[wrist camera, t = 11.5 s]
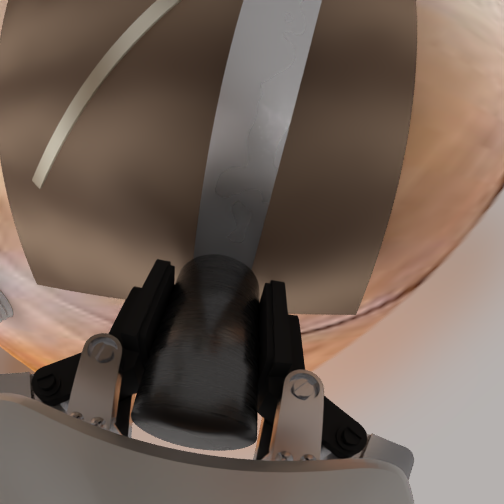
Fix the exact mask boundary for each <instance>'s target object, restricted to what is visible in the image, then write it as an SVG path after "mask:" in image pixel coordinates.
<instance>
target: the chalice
mask: <svg viewBox="0 0 504 504" xmlns="http://www.w3.org/2000/svg"><path fill="white" fill-rule="evenodd" d="M12 316H13V310H12V308H11V305H10V304H9V302H8V300H7V299H6V297H5V296H4V295H3V294H2V292H1V291H0V322H2V320H6V319H7V318H8V317H12Z"/></svg>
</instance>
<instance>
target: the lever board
mask: <svg viewBox="0 0 504 504" xmlns="http://www.w3.org/2000/svg"><path fill="white" fill-rule="evenodd" d="M242 4H243V0H8V4H7V7H6V12H5V16H4V21H3V26H2V31H1V37H0V159H1V165H2V171H3V177H4V182H5V187H6V191H7V196H8V200H9V204H10V208H11V212H12V216H13V219H14V223H15V226H16V229H17V232H18V236H19V239H20V242H21V244H22V247H23V250H24V253H25V256H26V258H27V261H28V264H29V266H30V269H31V271H32V274H33V276H34V278H35V281H36V283H37V284H38V285H43V286H48V287H53V288H58V289H64V290H69V291H75V292H81V293H87V294H93V295H99V296H105V297H112V298H119V299H127V297H128V295H129V293H130V291H131V289H132V288H133V287H134V286H136V287H140V288H142V286H143V284H144V282H145V281H146V279H147V277H148V275H149V273H150V271H151V269H152V267H153V265H154V263H155V262H156V260H157V259H160V260H165V261H170V262H171V265H172V266H175V282H176V280H177V277H178V275H179V272H180V271H181V269H182V268H183V266H184V265H185V264H186V263H187V262H189V261H190V260H192V259H193V256H194V248H195V239H196V231H197V224H198V216H199V209H200V202H201V195H202V188H203V182H204V176H205V169H206V163H207V157H208V152H209V146H210V141H211V135H212V130H213V125H214V119H215V114H216V109H217V105H218V100H219V95H220V90H221V86H222V81H223V77H224V73H225V68H226V64H227V60H228V56H229V52H230V48H231V44H232V40H233V36H234V32H235V29H236V25H237V21H238V18H239V14H240V11H241V7H242ZM416 52H417V15H416V0H322V2H321V6H320V10H319V14H318V18H317V22H316V25H315V29H314V33H313V37H312V41H311V45H310V49H309V53H308V57H307V61H306V64H305V68H304V72H303V76H302V80H301V84H300V88H299V92H298V95H297V99H296V103H295V107H294V111H293V115H292V119H291V122H290V126H289V130H288V134H287V138H286V141H285V145H284V149H283V153H282V157H281V161H280V164H279V168H278V172H277V176H276V180H275V183H274V187H273V191H272V195H271V198H270V202H269V206H268V210H267V214H266V217H265V221H264V225H263V229H262V232H261V236H260V240H259V244H258V247H257V251H256V255H255V259H254V262H253V266H252V272H253V273H254V274H255V276H256V278H257V280H258V283H259V302H260V299H261V295H262V292H263V289H264V285H265V283H270V281H271V280H275V281H280V282H284V283H285V288H286V298H287V308H288V313H289V314H331V315H356V313H357V311H358V308H359V306H360V303H361V301H362V298H363V296H364V293H365V290H366V288H367V285H368V282H369V280H370V277H371V274H372V271H373V268H374V266H375V263H376V260H377V257H378V254H379V251H380V248H381V244H382V241H383V238H384V235H385V231H386V228H387V225H388V221H389V218H390V214H391V210H392V207H393V203H394V199H395V195H396V191H397V187H398V183H399V178H400V174H401V169H402V165H403V160H404V155H405V149H406V144H407V138H408V132H409V126H410V119H411V112H412V104H413V95H414V84H415V72H416ZM175 282H174V285H175Z"/></svg>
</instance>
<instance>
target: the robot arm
mask: <svg viewBox="0 0 504 504" xmlns="http://www.w3.org/2000/svg"><path fill="white" fill-rule="evenodd" d="M174 282H175V266H172V265H171V262H170V261H165V260H160V259H157V260H156V262H155V263H154V265H153V267H152V269H151V271H150V273H149V275H148V277H147V279H146V281H145V282H144V284H143V286H142V288H140V287H136V286H134V287H133V288H132V289H131V291H130V293H129V295H128V297H127V299H126V301H125V302H124V304H123V306H122V308H121V310H120V312H119V314H118V316H117V318H116V320H115V322H114V324H113V326H112V328H111V330H110V332H109V334H103V333H101V334H97V335H94V336H92V337H90V338H89V339H88V340H87V341H86V343H85V345H84V348H83V351H82V353H79V354H76V355H74V356H71V357H68V358H66V359H63V360H60V361H58V362H55V363H52V364H50V365H47V366H44V367H42V368H40V369H38V370H37V371H36V372H35V374H31V373H30V372H25V373H12V374H0V504H414V500H413V495H412V491H411V488H410V484H409V481H408V480H409V476H410V473H411V470H412V467H413V463H414V457H413V454H412V452H411V451H410V450H409V449H408V448H406V447H403V446H401V445H398V444H396V443H393V442H391V441H388V440H386V439H384V438H382V437H379V436H377V435H375V434H371V435H369V434H367V433H366V431H365V430H364V428H363V427H362V426H361V425H360V424H359V423H358V422H356V421H355V420H354V419H353V418H351V417H350V416H349V415H347V414H346V413H345V412H344V411H343V410H341V409H340V408H339V407H338V406H336V405H335V404H334V403H333V402H331V401H330V400H329V399H327V398H326V397H325V396H324V387H323V383H322V381H321V379H320V378H319V377H318V376H317V375H316V374H314V373H313V372H311V371H308V370H305V365H304V357H303V348H302V340H301V332H300V324H299V318H298V316H295V315H288V308H287V298H286V288H285V283H284V282H280V281H275V280H271V281H270V283H265V285H264V289H263V292H262V295H261V299H260V302H259V359H258V413H259V414H260V415H261V416H262V420H261V425H260V430H259V435H258V440H257V445H256V449H255V454H254V458H253V460H247V459H235V458H226V457H218V456H210V455H203V454H197V453H191V452H186V451H181V450H176V449H171V448H167V447H162V446H158V445H154V444H151V443H147V442H143V441H139V440H136V439H132V438H131V432H132V419H131V412H132V408H133V405H134V400H135V393H137V392H138V388H139V385H140V382H141V379H142V376H143V372H144V369H145V366H146V363H147V360H148V357H149V354H150V351H151V348H152V345H153V342H154V339H155V337H156V334H157V331H158V328H159V325H160V322H161V320H162V317H163V314H164V311H165V309H166V306H167V303H168V301H169V298H170V295H171V293H172V290H173V288H174Z"/></svg>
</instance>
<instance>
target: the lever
mask: <svg viewBox="0 0 504 504" xmlns="http://www.w3.org/2000/svg"><path fill="white" fill-rule="evenodd" d="M321 2H322V0H243V4H242V7H241V11H240V14H239V18H238V21H237V25H236V29H235V32H234V36H233V40H232V44H231V48H230V52H229V56H228V60H227V64H226V68H225V73H224V77H223V81H222V86H221V90H220V95H219V100H218V105H217V109H216V114H215V119H214V125H213V130H212V135H211V141H210V146H209V152H208V157H207V163H206V169H205V176H204V182H203V188H202V195H201V202H200V209H199V216H198V224H197V231H196V239H195V248H194V256H193V259H192V260H190V261H189V262H187V263H186V264H185V265H184V266H183V268H182V269H181V271H180V272H179V275H178V277H177V280H176V282H175V285H174V288H173V290H172V293H171V295H170V298H169V301H168V303H167V306H166V309H165V311H164V314H163V317H162V320H161V322H160V325H159V328H158V331H157V334H156V337H155V339H154V342H153V345H152V348H151V351H150V354H149V357H148V360H147V363H146V366H145V369H144V372H143V376H142V379H141V382H140V385H139V388H138V392H137V395H136V398H135V402H134V405H133V408H132V412H131V419H132V421H133V422H134V423H135V424H136V425H137V426H138V427H139V428H141V429H142V430H144V431H145V432H147V433H149V434H151V435H153V436H155V437H157V438H159V439H162V440H164V441H167V442H170V443H173V444H177V445H181V446H185V447H190V448H196V449H203V450H235V449H241V448H245V447H248V446H250V445H252V444H254V443H255V442H256V440H257V412H258V359H259V283H258V280H257V278H256V276H255V274H254V273H253V272H252V266H253V262H254V259H255V255H256V251H257V247H258V244H259V240H260V236H261V232H262V229H263V225H264V221H265V217H266V214H267V210H268V206H269V202H270V198H271V195H272V191H273V187H274V183H275V180H276V176H277V172H278V168H279V164H280V161H281V157H282V153H283V149H284V145H285V141H286V138H287V134H288V130H289V126H290V122H291V119H292V115H293V111H294V107H295V103H296V99H297V95H298V92H299V88H300V84H301V80H302V76H303V72H304V68H305V64H306V61H307V57H308V53H309V49H310V45H311V41H312V37H313V33H314V29H315V25H316V22H317V18H318V14H319V10H320V6H321Z"/></svg>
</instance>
